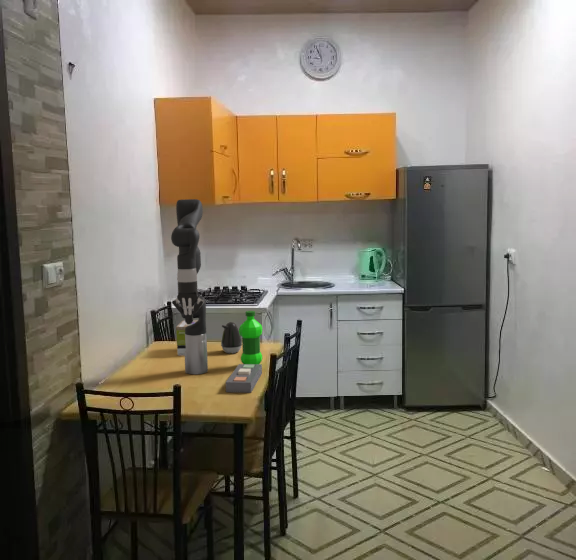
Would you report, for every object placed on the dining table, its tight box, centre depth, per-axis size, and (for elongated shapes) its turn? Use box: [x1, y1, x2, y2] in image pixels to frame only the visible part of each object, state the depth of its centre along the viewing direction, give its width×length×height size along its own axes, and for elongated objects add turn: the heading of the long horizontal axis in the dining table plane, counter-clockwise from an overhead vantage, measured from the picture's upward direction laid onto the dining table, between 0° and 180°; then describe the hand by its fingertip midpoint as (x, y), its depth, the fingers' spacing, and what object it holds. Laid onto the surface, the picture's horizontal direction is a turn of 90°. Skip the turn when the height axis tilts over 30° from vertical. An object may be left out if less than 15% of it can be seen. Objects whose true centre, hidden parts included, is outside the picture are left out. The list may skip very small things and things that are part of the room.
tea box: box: [175, 319, 199, 357], centre depth 300 cm, size 15×10×15 cm, turn 178°
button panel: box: [225, 363, 263, 394], centre depth 249 cm, size 10×26×4 cm, turn 173°
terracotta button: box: [234, 377, 247, 382], centre depth 240 cm, size 4×4×3 cm
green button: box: [243, 365, 255, 369], centre depth 257 cm, size 4×4×3 cm
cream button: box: [238, 368, 251, 375], centre depth 248 cm, size 4×4×3 cm
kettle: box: [220, 321, 242, 354], centre depth 297 cm, size 10×10×15 cm
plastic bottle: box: [238, 310, 263, 364], centre depth 271 cm, size 10×10×25 cm
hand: (189, 323), depth 236 cm, fingers closed
